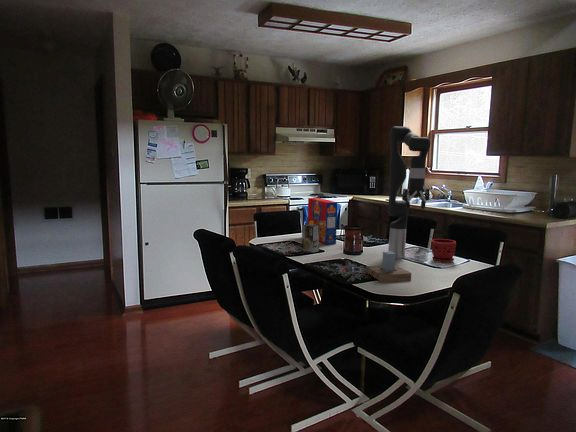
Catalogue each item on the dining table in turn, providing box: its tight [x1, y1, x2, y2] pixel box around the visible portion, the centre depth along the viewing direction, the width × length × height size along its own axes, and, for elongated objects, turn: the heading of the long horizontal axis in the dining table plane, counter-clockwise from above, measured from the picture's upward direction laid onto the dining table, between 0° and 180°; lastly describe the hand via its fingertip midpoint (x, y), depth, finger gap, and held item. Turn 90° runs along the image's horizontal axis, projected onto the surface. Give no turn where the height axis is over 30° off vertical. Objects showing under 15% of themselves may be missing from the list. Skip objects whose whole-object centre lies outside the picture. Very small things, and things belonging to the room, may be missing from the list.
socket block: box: [365, 264, 412, 283], centre depth 205 cm, size 16×16×4 cm
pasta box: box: [307, 197, 338, 246], centre depth 286 cm, size 28×8×28 cm, turn 22°
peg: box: [381, 251, 396, 272], centre depth 205 cm, size 4×4×12 cm
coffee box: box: [301, 223, 320, 253], centre depth 255 cm, size 9×6×16 cm
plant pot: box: [430, 238, 457, 264], centre depth 236 cm, size 13×13×12 cm
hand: (415, 208), depth 213 cm, fingers open, 8 cm apart
